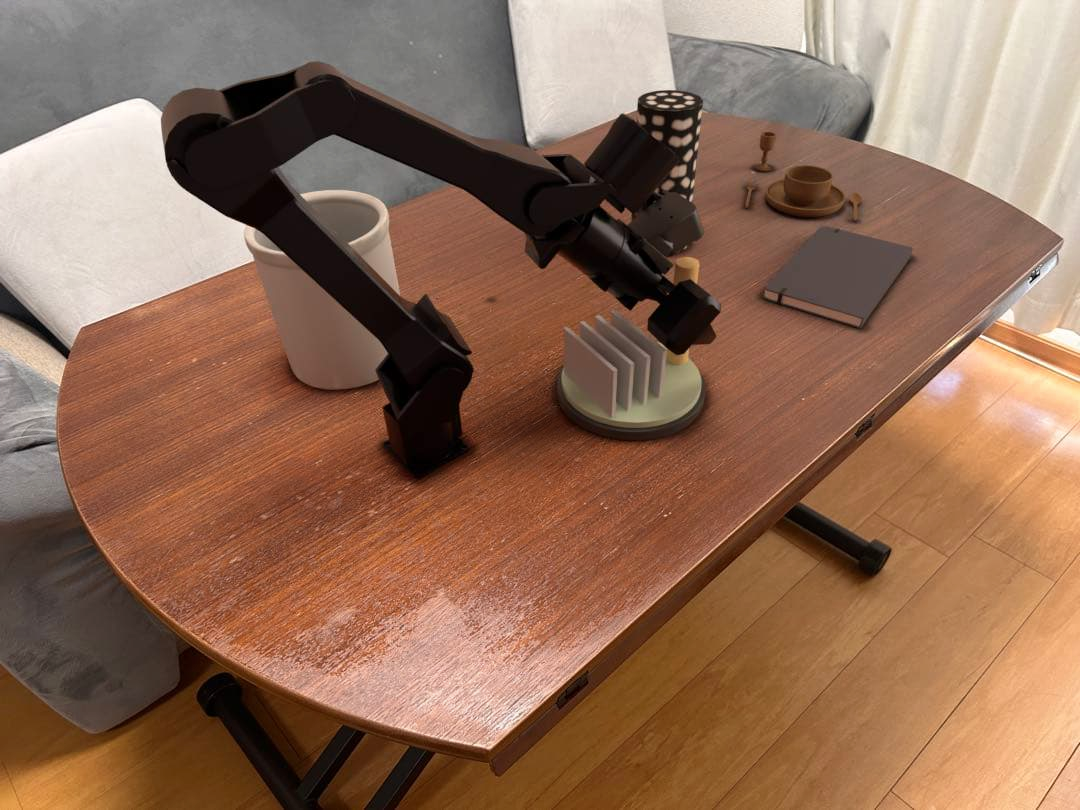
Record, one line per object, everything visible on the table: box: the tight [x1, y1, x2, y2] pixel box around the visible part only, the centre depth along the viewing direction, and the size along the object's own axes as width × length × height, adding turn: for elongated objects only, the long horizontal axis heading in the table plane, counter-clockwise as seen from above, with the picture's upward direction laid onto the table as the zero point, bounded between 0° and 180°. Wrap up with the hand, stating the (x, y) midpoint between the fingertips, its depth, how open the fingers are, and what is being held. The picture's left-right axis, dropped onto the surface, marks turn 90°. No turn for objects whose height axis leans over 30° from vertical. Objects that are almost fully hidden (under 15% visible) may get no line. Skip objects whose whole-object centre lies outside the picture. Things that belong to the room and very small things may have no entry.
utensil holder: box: [243, 189, 401, 391], centre depth 84 cm, size 15×15×18 cm
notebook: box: [762, 225, 914, 329], centre depth 100 cm, size 13×2×21 cm
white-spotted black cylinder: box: [630, 89, 704, 254], centre depth 103 cm, size 8×8×20 cm
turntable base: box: [556, 365, 706, 441], centre depth 83 cm, size 16×16×1 cm
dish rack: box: [562, 256, 701, 428], centre depth 78 cm, size 15×15×13 cm
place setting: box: [745, 131, 863, 221], centre depth 119 cm, size 18×20×6 cm
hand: (687, 318), depth 81 cm, fingers open, 9 cm apart
